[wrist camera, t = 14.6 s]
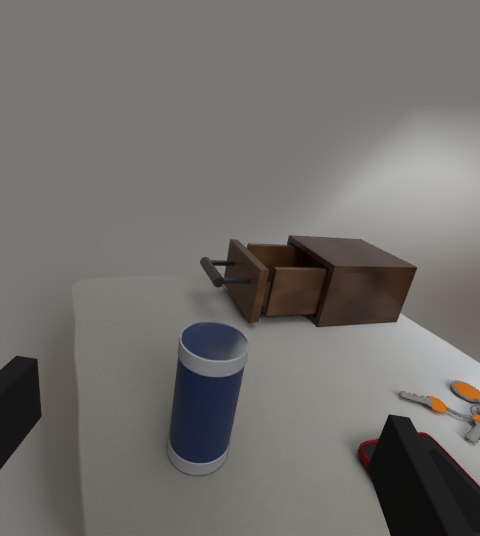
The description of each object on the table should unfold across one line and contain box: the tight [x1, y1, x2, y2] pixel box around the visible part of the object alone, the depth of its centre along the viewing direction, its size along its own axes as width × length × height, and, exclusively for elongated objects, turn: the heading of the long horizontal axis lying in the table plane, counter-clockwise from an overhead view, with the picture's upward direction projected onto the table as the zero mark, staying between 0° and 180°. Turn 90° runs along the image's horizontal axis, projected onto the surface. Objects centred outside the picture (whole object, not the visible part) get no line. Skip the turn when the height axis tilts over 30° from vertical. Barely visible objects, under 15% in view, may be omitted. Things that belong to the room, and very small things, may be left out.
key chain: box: [399, 381, 480, 442], centre depth 35 cm, size 13×7×1 cm, turn 109°
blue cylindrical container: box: [167, 321, 249, 476], centre depth 24 cm, size 5×5×10 cm
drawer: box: [200, 239, 330, 322], centre depth 48 cm, size 18×12×7 cm, turn 110°
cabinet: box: [287, 235, 417, 327], centre depth 53 cm, size 15×13×9 cm
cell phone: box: [358, 432, 480, 533], centre depth 23 cm, size 8×15×1 cm, turn 17°
